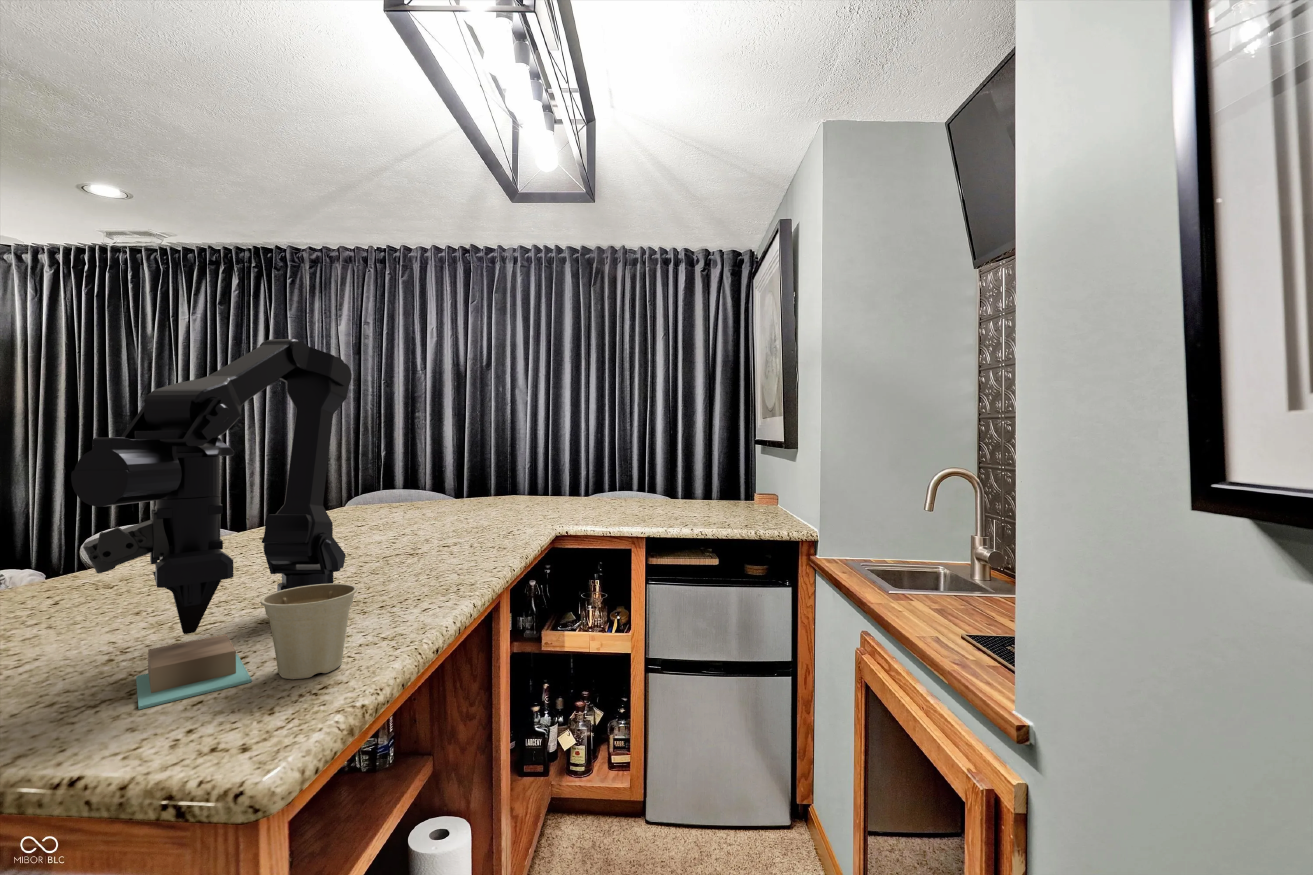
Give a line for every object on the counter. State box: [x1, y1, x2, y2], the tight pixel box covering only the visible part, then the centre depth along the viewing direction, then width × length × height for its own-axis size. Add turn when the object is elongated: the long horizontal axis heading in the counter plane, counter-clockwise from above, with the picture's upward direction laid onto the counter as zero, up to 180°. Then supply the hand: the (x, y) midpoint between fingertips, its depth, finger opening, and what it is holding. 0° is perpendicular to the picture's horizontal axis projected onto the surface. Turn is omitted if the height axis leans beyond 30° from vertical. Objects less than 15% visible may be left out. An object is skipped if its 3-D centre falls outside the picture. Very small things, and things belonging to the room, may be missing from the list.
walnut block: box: [147, 633, 237, 693], centre depth 63 cm, size 7×2×8 cm
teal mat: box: [135, 653, 252, 710], centre depth 61 cm, size 9×10×1 cm
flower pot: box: [260, 582, 358, 680], centre depth 64 cm, size 9×9×9 cm
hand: (189, 632), depth 65 cm, fingers closed
